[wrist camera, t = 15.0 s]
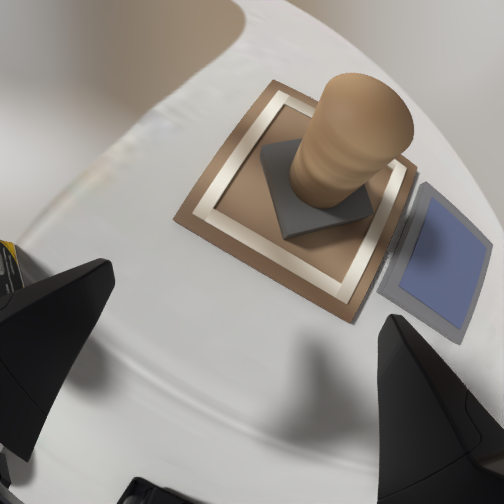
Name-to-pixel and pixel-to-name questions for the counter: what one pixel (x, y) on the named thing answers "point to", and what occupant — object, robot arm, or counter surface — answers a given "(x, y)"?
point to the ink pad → (438, 265)
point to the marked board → (265, 220)
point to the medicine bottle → (9, 269)
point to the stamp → (336, 155)
